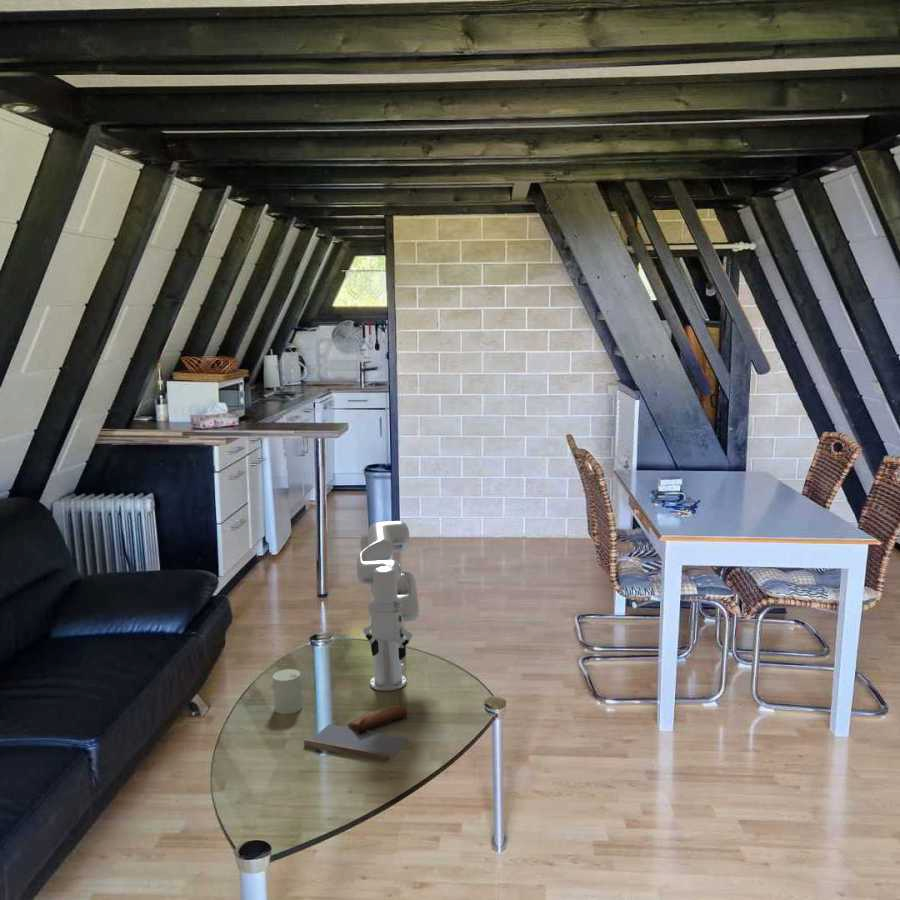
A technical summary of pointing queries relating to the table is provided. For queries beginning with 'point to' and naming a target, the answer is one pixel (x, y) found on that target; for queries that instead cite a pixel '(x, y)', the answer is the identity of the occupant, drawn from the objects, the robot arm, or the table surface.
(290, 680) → the can
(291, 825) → the table surface
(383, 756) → the walnut rail
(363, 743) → the mat
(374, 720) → the brown elongated rounded piece
